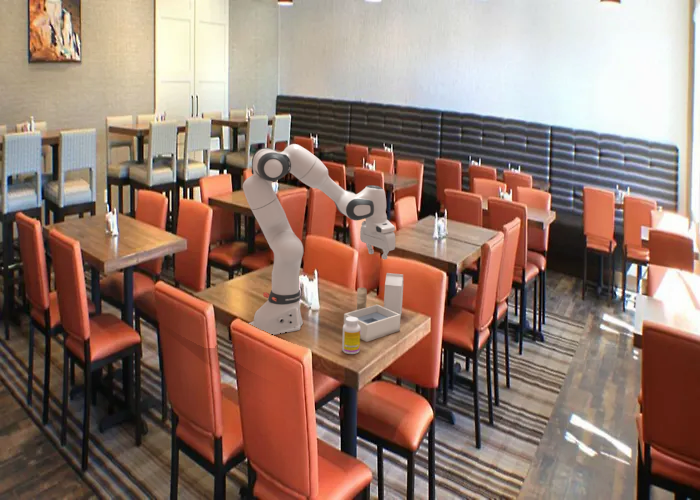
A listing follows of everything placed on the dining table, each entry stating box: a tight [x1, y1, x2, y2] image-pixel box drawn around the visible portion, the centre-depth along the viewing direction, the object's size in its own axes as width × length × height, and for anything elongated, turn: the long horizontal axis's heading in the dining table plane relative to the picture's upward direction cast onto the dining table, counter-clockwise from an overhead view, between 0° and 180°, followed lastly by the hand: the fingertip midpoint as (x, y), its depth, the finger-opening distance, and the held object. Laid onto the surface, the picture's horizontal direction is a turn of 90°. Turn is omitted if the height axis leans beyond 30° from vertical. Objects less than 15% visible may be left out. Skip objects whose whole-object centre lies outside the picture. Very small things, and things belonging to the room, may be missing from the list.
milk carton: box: [383, 272, 404, 316], centre depth 250 cm, size 7×7×19 cm
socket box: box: [343, 304, 402, 342], centre depth 236 cm, size 18×14×7 cm
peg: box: [356, 287, 368, 310], centre depth 250 cm, size 4×4×12 cm
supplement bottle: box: [341, 317, 361, 355], centre depth 216 cm, size 7×7×13 cm
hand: (377, 256), depth 245 cm, fingers open, 8 cm apart
